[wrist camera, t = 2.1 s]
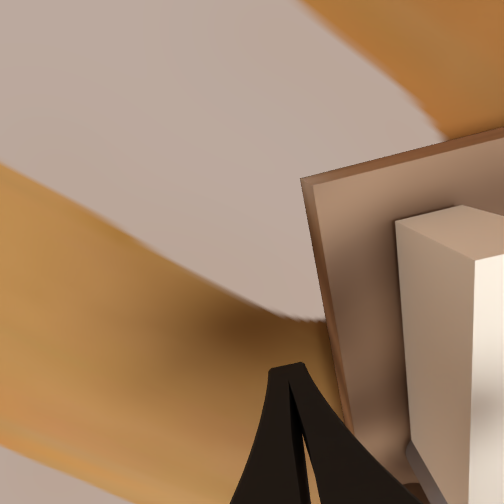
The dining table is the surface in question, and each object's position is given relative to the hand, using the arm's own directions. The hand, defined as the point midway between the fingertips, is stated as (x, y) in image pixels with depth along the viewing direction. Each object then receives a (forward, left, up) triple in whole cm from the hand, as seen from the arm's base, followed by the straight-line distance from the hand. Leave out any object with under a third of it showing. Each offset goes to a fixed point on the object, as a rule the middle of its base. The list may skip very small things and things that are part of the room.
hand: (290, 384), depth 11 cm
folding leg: (-2, -7, -2) cm, 7 cm away
